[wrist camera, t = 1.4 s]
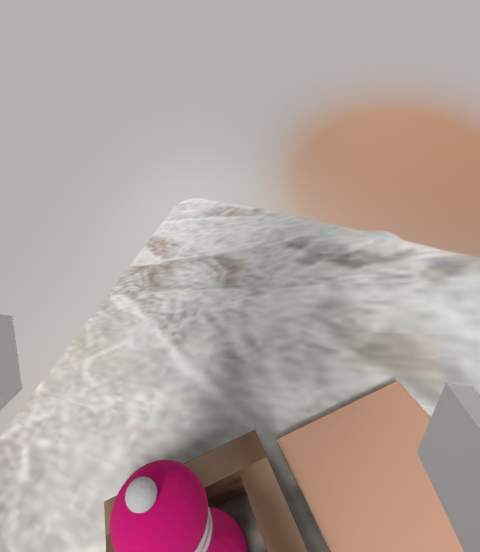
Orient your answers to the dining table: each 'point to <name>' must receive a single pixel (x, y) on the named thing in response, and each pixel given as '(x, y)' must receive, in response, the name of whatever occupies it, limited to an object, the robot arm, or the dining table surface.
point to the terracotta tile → (370, 477)
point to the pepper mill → (170, 514)
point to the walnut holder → (234, 481)
